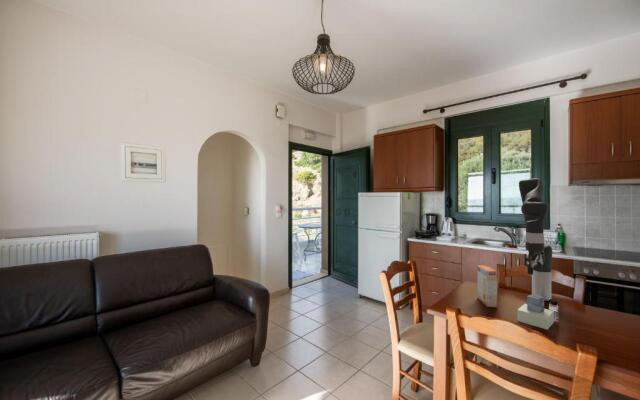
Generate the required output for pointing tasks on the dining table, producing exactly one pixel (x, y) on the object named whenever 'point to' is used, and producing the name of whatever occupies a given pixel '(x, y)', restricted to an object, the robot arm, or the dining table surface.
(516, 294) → the dining table surface
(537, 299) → the slate block
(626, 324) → the dining table surface
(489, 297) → the cracker box
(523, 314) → the sage block
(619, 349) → the dining table surface
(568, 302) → the dining table surface
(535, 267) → the robot arm
